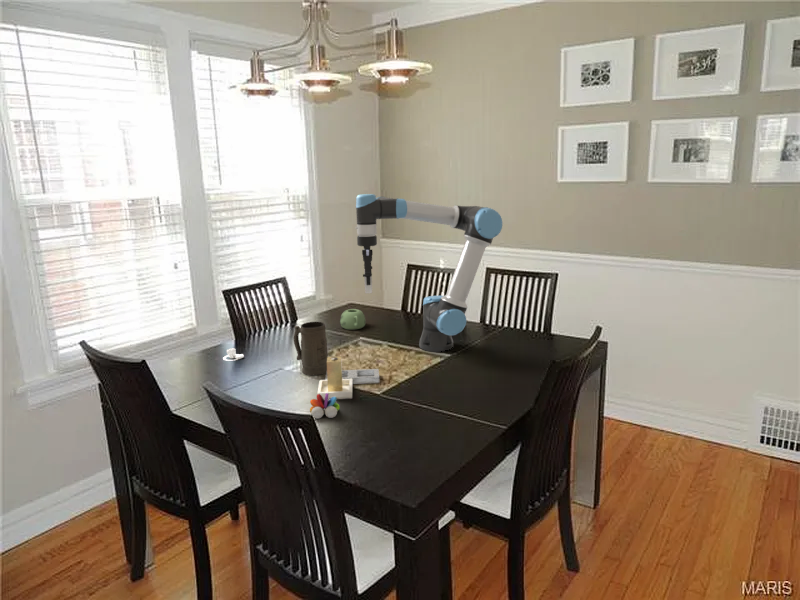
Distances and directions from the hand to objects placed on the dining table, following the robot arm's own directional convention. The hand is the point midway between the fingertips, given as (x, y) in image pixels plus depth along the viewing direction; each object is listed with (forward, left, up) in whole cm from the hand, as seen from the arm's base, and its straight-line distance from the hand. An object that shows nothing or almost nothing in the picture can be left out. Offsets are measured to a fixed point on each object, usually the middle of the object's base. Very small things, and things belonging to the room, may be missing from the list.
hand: (368, 289), depth 212 cm
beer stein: (+24, +3, -32) cm, 40 cm away
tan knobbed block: (+13, +26, -31) cm, 43 cm away
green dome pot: (+7, -53, -32) cm, 62 cm away
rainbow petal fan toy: (+16, +43, -32) cm, 56 cm away
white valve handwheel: (+58, -12, -32) cm, 67 cm away
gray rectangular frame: (+7, +15, -32) cm, 36 cm away
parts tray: (+13, +26, -32) cm, 43 cm away
